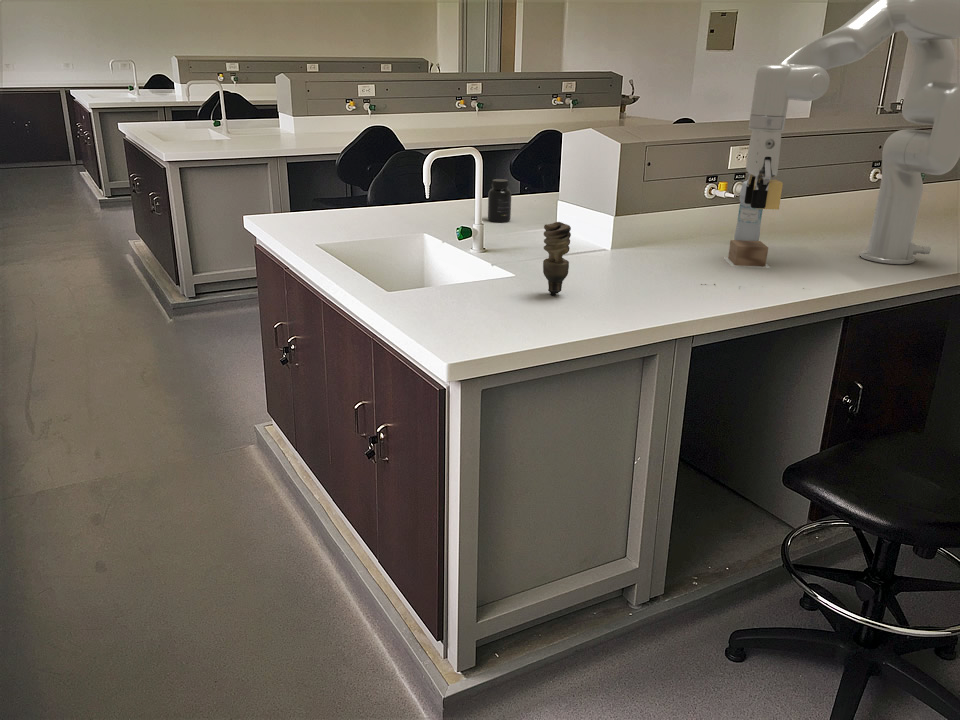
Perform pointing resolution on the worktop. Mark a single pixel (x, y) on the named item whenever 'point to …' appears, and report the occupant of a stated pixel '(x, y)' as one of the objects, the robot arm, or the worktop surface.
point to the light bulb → (556, 255)
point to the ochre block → (773, 194)
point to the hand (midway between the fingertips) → (754, 205)
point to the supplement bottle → (499, 202)
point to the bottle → (747, 219)
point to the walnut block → (748, 253)
